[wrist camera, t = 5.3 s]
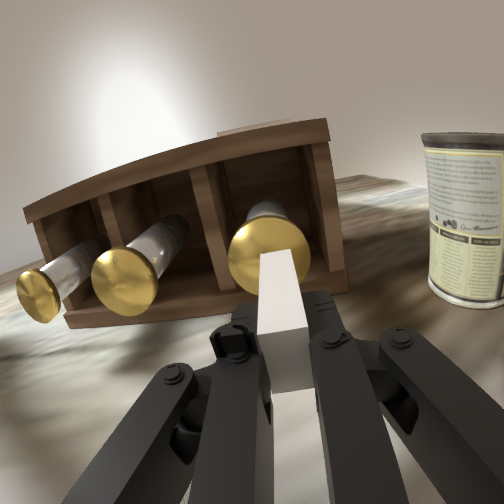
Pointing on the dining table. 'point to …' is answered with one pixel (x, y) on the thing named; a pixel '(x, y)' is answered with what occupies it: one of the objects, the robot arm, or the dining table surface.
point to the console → (201, 216)
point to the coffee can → (466, 217)
